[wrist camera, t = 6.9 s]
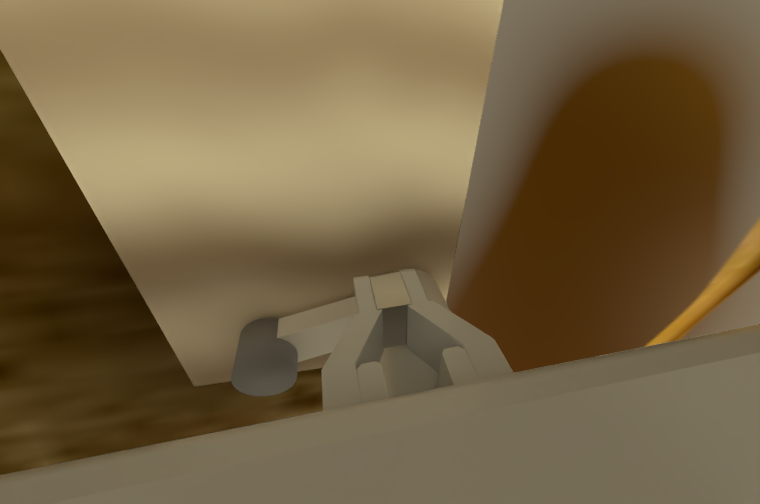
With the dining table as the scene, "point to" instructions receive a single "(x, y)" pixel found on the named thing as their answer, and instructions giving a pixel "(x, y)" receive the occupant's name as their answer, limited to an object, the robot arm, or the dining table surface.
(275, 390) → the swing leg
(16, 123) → the dining table surface
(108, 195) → the wooden board with socket
